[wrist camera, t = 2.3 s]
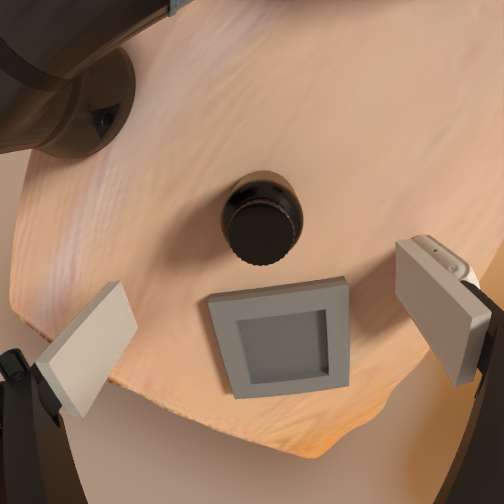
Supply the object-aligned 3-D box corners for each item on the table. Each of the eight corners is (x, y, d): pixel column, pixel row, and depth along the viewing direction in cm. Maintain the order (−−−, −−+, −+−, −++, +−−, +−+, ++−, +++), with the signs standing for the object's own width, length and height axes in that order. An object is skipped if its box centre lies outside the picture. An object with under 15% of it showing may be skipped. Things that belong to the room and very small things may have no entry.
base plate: (236, 388, 43) (234, 399, 41) (210, 294, 38) (207, 302, 36) (346, 375, 41) (349, 386, 39) (344, 276, 36) (348, 284, 34)
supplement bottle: (229, 228, 35) (210, 273, 24) (234, 166, 32) (215, 182, 21) (291, 235, 35) (301, 283, 23) (299, 173, 32) (315, 193, 21)
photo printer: (398, 244, 34) (448, 292, 23) (427, 227, 33) (484, 267, 22) (423, 307, 37) (464, 364, 25) (448, 291, 36) (495, 343, 24)
